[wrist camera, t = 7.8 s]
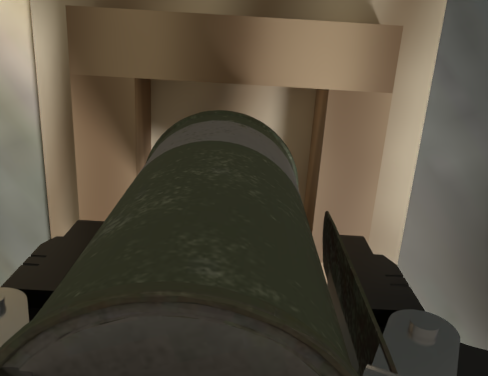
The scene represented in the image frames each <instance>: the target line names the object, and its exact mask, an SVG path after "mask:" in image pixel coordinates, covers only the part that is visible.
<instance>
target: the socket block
mask: <svg viewBox="0 0 488 376" xmlns="http://www.w3.org/2000/svg"><path fill="white" fill-rule="evenodd" d="M446 3H447V0H30V7H31V19H32V30H33V41H34V52H35V63H36V75H37V86H38V97H39V108H40V119H41V130H42V142H43V153H44V164H45V175H46V186H47V198H48V209H49V220H50V231H51V239H52V238H54V237H56V236H64V235H65V234H66V233H67V232H68V231H69V230H70V228H71V227H72V226H73V225H74V224H75V223H76V221H77V220H93V221H105V220H106V218H107V217H108V216H109V214H110V213H111V211H112V210H113V209H114V207H115V206H116V204H117V203H118V202H119V200H120V199H121V197H122V196H123V195H124V193H125V192H126V190H127V189H128V188H129V186H130V185H131V183H132V182H133V181H134V179H135V178H136V177H137V175H138V174H139V172H140V171H141V170H142V168H143V167H144V165H145V164H146V161H147V158H148V156H149V153H150V152H151V150H152V148H153V146H154V145H155V143H156V141H157V140H158V139H159V138H160V136H161V135H162V134H163V133H164V132H165V131H166V130H167V129H169V128H170V127H171V126H172V125H174V124H175V123H177V122H178V121H180V120H182V119H184V118H186V117H188V116H191V115H193V114H197V113H200V112H204V111H213V110H227V111H234V112H239V113H243V114H246V115H248V116H251V117H253V118H255V119H257V120H259V121H261V122H263V123H264V124H266V125H267V126H268V127H270V128H271V129H272V130H273V131H274V132H275V133H276V134H277V135H278V136H279V137H280V138H281V139H282V140H283V142H284V143H285V144H286V146H287V147H288V149H289V151H290V152H291V155H292V157H293V159H294V162H295V165H296V169H297V174H298V186H299V188H298V189H299V193H300V196H301V199H302V203H303V206H304V209H305V213H306V216H307V219H308V223H309V226H310V229H311V233H312V236H313V239H314V243H315V246H316V249H317V252H318V256H319V259H320V262H321V266H322V269H323V272H324V276H325V279H326V282H328V281H327V278H326V274H325V271H324V267H323V244H322V237H323V223H324V216H325V212H326V211H328V212H329V214H330V216H331V218H332V220H333V222H334V224H335V226H336V228H337V230H338V232H339V235H355V236H364V238H365V239H366V241H367V243H368V245H369V247H370V248H371V250H372V252H373V254H380V255H384V256H385V257H387V258H388V259H389V260H391V261H392V262H393V263H395V264H396V265H397V263H398V258H399V253H400V247H401V242H402V237H403V231H404V226H405V221H406V215H407V210H408V205H409V200H410V194H411V189H412V184H413V178H414V173H415V168H416V162H417V157H418V152H419V147H420V141H421V136H422V131H423V125H424V120H425V115H426V109H427V104H428V99H429V93H430V88H431V83H432V78H433V72H434V67H435V62H436V56H437V51H438V46H439V40H440V35H441V30H442V24H443V19H444V14H445V9H446Z"/></svg>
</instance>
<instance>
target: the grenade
mask: <svg viewBox="0 0 488 376" xmlns="http://www.w3.org/2000/svg"><path fill="white" fill-rule="evenodd" d="M298 188H299V186H298V174H297V169H296V165H295V162H294V159H293V157H292V155H291V152H290V151H289V149H288V147H287V146H286V144H285V143H284V142H283V140H282V139H281V138H280V137H279V136H278V135H277V134H276V133H275V132H274V131H273V130H272V129H271V128H270V127H268V126H267V125H266V124H264V123H263V122H261V121H259V120H257V119H255V118H253V117H251V116H248V115H246V114H243V113H239V112H234V111H227V110H213V111H204V112H200V113H197V114H193V115H191V116H188V117H186V118H184V119H182V120H180V121H178V122H177V123H175V124H174V125H172V126H171V127H170V128H169V129H167V130H166V131H165V132H164V133H163V134H162V135H161V136H160V138H159V139H158V140H157V141H156V143H155V145H154V146H153V148H152V150H151V152H150V153H149V156H148V158H147V161H146V164H145V165H144V167H143V168H142V170H141V171H140V172H139V174H138V175H137V177H136V178H135V179H134V181H133V182H132V183H131V185H130V186H129V188H128V189H127V190H126V192H125V193H124V195H123V196H122V197H121V199H120V200H119V202H118V203H117V204H116V206H115V207H114V209H113V210H112V211H111V213H110V214H109V216H108V217H107V218H106V220H105V221H104V223H103V224H102V225H101V227H100V228H99V230H98V231H97V232H96V234H95V235H94V237H93V238H92V239H91V241H90V242H89V244H88V245H87V246H86V248H85V249H84V251H83V252H82V253H81V255H80V256H79V258H78V259H77V260H76V262H75V263H74V265H73V266H72V267H71V269H70V270H69V272H68V273H67V274H66V276H65V277H64V279H63V280H62V281H61V283H60V284H59V285H58V287H57V288H56V289H55V291H54V292H53V293H52V295H51V296H50V297H49V299H48V300H47V301H46V303H45V304H44V305H43V307H42V308H41V309H40V311H39V312H38V313H37V315H36V316H35V317H34V319H33V320H31V321H30V322H29V323H27V324H26V325H24V326H23V327H22V328H21V329H20V330H19V331H18V332H16V333H15V334H14V335H13V336H12V337H11V338H10V339H8V340H7V341H6V342H5V343H4V344H3V345H2V346H1V347H0V368H2V367H17V368H19V371H29V372H33V376H363V373H364V370H365V368H366V366H367V364H370V365H372V363H373V360H374V358H375V355H376V352H377V349H378V347H379V344H380V343H381V345H382V348H383V350H384V353H385V356H386V358H387V361H388V364H389V366H390V369H391V372H393V373H396V374H398V372H397V370H396V367H395V364H394V362H393V359H392V357H391V354H390V352H389V349H388V347H387V345H386V342H385V340H384V337H383V335H382V333H381V330H380V328H379V326H378V323H377V321H376V319H375V316H374V314H373V311H372V309H371V307H370V304H369V302H368V300H367V297H366V295H365V292H364V290H363V288H362V285H361V283H360V281H359V278H358V276H357V274H356V271H355V269H354V267H353V264H352V262H351V260H350V257H349V255H348V253H347V251H346V248H345V246H344V244H343V241H342V239H341V237H340V235H339V232H338V230H337V228H336V226H335V224H334V222H333V220H332V218H331V216H330V214H329V212H328V211H326V212H325V216H324V223H323V237H322V244H323V267H324V271H325V274H326V278H327V281H328V275H329V270H330V273H331V276H332V279H333V282H334V286H335V289H336V292H337V295H338V298H339V302H340V305H341V308H342V311H343V314H344V318H345V321H346V324H347V327H348V330H349V333H350V337H351V340H352V343H353V346H354V350H355V353H356V357H357V360H358V364H359V372H358V373H357V372H356V370H355V369H354V367H353V366H352V365H351V362H350V359H349V355H348V352H347V349H346V345H345V342H344V339H343V335H342V332H341V329H340V325H339V322H338V319H337V316H336V312H335V309H334V306H333V302H332V299H331V296H330V292H329V289H328V286H327V282H326V279H325V276H324V272H323V269H322V266H321V262H320V259H319V256H318V252H317V249H316V246H315V243H314V239H313V236H312V233H311V229H310V226H309V223H308V219H307V216H306V213H305V209H304V206H303V203H302V199H301V196H300V193H299V189H298Z"/></svg>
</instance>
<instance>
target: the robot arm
mask: <svg viewBox="0 0 488 376" xmlns="http://www.w3.org/2000/svg"><path fill="white" fill-rule="evenodd" d="M103 223H104V221H93V220H77V221H76V223H75V224H74V225H73V226H72V227H71V228H70V230H69V231H68V232H67V233H66V234H65V235H64V236H56V237H54V238H52V239H50V240H48V241H46V242H44V243H42V244H41V245H40V246H39V247H38V248H37V249H36V250H35V251H34V252H33V253H32V254H31V257H28V258H27V259H26V261H25V262H24V263H23V265H21V266H20V267H19V268H18V269H17V270H16V271H15V272H14V273H13V274H12V275H11V277H10V278H9V279H8V280H7V281H6V282H5V283H4V284H3V285H2V286H1V287H0V347H1V346H2V345H3V344H4V343H5V342H6V341H7V340H8V339H10V338H11V337H12V336H13V335H14V334H15V333H16V332H18V331H19V330H20V329H21V328H22V327H23V326H24V325H26V324H27V323H29V322H30V321H31V320H33V319H34V317H35V316H36V315H37V313H38V312H39V311H40V309H41V308H42V307H43V305H44V304H45V303H46V301H47V300H48V299H49V297H50V296H51V295H52V293H53V292H54V291H55V289H56V288H57V287H58V285H59V284H60V283H61V281H62V280H63V279H64V277H65V276H66V274H67V273H68V272H69V270H70V269H71V267H72V266H73V265H74V263H75V262H76V260H77V259H78V258H79V256H80V255H81V253H82V252H83V251H84V249H85V248H86V246H87V245H88V244H89V242H90V241H91V239H92V238H93V237H94V235H95V234H96V232H97V231H98V230H99V228H100V227H101V225H102V224H103ZM340 237H341V239H342V241H343V244H344V246H345V248H346V251H347V253H348V255H349V257H350V260H351V262H352V264H353V267H354V269H355V271H356V274H357V276H358V278H359V281H360V283H361V285H362V288H363V290H364V292H365V295H366V297H367V300H368V302H369V304H370V307H371V309H372V311H373V314H374V316H375V319H376V321H377V323H378V326H379V328H380V330H381V333H382V335H383V337H384V340H385V342H386V345H387V347H388V349H389V352H390V354H391V357H392V359H393V362H394V364H395V367H396V370H397V372H398V374H396V373H393V372H391V369H390V366H389V364H388V361H387V358H386V356H385V353H384V350H383V348H382V345H381V343H380V344H379V347H378V349H377V352H376V355H375V358H374V360H373V363H372V365H370V364H367V366H366V368H365V370H364V373H363V376H488V351H487V350H483V349H479V348H475V347H472V346H468V345H465V344H463V343H460V336H459V333H458V331H457V330H456V329H455V328H454V326H453V325H451V324H450V323H449V322H448V321H446V320H445V319H443V318H441V317H439V316H437V315H434V314H432V313H429V312H425V310H424V309H423V307H422V306H421V304H420V302H419V301H418V299H417V297H416V296H415V294H414V293H413V291H412V289H411V288H410V287H409V284H408V283H407V281H406V280H405V278H403V275H402V273H401V271H400V270H399V268H398V267H397V265H396V264H395V263H393V262H392V261H391V260H389V259H388V258H387V257H385V256H384V255H380V254H373V252H372V250H371V248H370V247H369V245H368V243H367V241H366V239H365V238H364V236H355V235H340ZM327 286H328V289H329V292H330V296H331V299H332V302H333V306H334V309H335V312H336V316H337V319H338V322H339V325H340V329H341V332H342V335H343V339H344V342H345V345H346V349H347V352H348V355H349V359H350V362H351V365H352V366H353V367H354V369H355V370H356V372H357V373H358V372H359V364H358V360H357V357H356V353H355V350H354V346H353V343H352V340H351V337H350V333H349V330H348V327H347V324H346V321H345V318H344V314H343V311H342V308H341V305H340V302H339V298H338V295H337V292H336V289H335V286H334V282H333V279H332V276H331V273H330V270H329V275H328V282H327ZM0 376H33V372H29V371H19V368H17V367H2V368H0Z"/></svg>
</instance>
